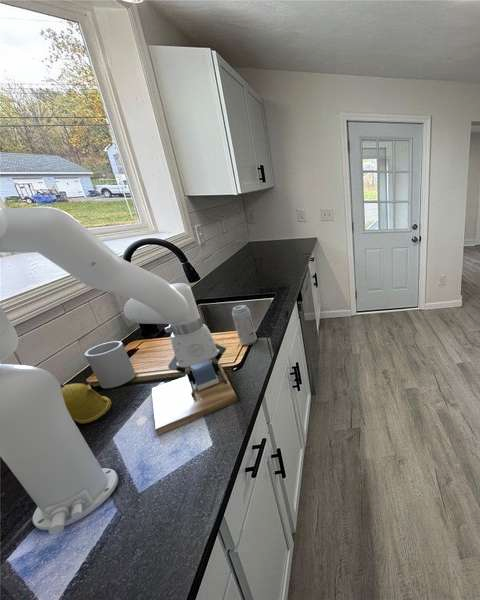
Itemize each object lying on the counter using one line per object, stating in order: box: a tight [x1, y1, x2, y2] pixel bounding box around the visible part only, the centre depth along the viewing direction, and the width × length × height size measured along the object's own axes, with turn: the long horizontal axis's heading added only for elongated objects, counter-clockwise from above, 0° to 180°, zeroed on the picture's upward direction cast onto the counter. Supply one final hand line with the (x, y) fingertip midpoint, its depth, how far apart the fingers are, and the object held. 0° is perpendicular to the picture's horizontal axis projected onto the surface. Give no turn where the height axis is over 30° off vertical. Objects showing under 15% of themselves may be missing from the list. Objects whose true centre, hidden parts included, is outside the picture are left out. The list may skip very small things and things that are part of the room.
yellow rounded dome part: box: [60, 382, 112, 425], centre depth 84 cm, size 12×8×15 cm
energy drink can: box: [231, 304, 258, 346], centre depth 120 cm, size 6×6×15 cm
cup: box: [84, 340, 137, 389], centre depth 102 cm, size 9×9×12 cm
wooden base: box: [151, 363, 238, 436], centre depth 92 cm, size 22×19×4 cm
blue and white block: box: [190, 359, 219, 391], centre depth 96 cm, size 11×6×5 cm, turn 39°
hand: (205, 377), depth 97 cm, fingers closed on blue and white block, 5 cm apart
